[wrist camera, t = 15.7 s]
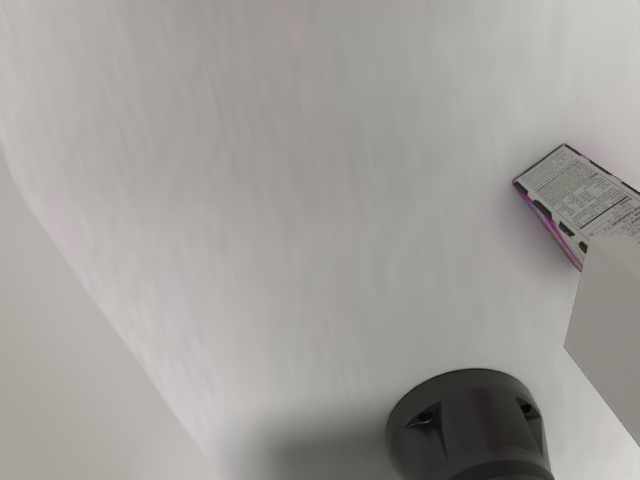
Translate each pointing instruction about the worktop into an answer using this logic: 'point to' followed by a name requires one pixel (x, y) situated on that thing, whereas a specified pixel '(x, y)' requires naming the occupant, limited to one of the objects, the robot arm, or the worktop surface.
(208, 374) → the worktop surface
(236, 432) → the worktop surface
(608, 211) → the candy bar box
